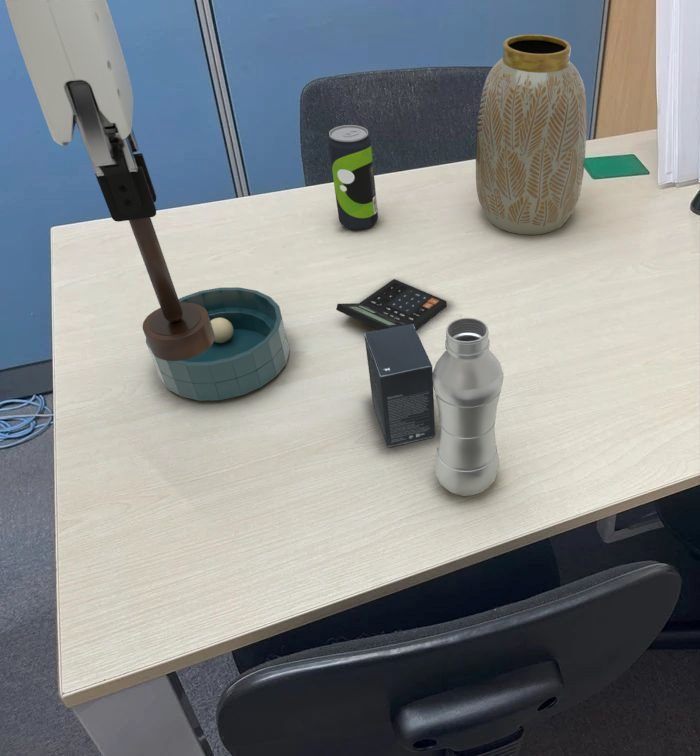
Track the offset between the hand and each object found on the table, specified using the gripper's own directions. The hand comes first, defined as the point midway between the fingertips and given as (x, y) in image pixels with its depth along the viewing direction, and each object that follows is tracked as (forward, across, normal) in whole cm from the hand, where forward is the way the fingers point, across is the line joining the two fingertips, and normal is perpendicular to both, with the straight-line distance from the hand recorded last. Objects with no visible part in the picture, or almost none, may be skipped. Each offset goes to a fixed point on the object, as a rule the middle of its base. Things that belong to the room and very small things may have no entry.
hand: (135, 209), depth 56 cm
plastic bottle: (+30, +12, +24) cm, 40 cm away
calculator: (+30, -19, +23) cm, 42 cm away
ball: (+27, -20, +1) cm, 34 cm away
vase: (+30, -40, +51) cm, 71 cm away
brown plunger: (+14, 0, 0) cm, 14 cm away
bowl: (+29, -16, +1) cm, 33 cm away
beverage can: (+30, -45, +24) cm, 59 cm away
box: (+30, +1, +20) cm, 36 cm away
